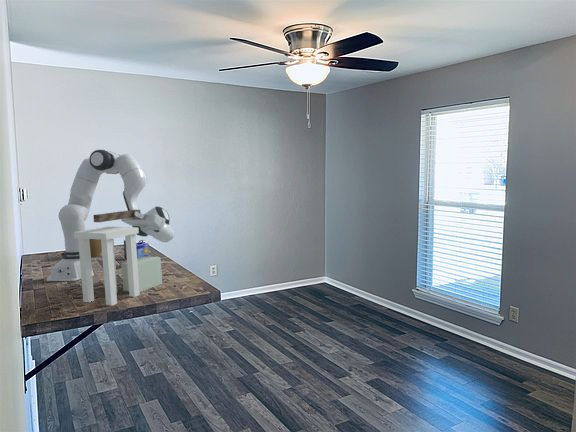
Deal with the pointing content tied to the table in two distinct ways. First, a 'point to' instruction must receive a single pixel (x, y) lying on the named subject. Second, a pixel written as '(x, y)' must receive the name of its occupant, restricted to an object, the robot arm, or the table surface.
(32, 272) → the table surface
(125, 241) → the phone stand
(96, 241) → the plant pot
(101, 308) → the table surface
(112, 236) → the stool
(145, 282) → the pale green cuboid block
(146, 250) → the ink cartridge box
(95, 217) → the wooden board
